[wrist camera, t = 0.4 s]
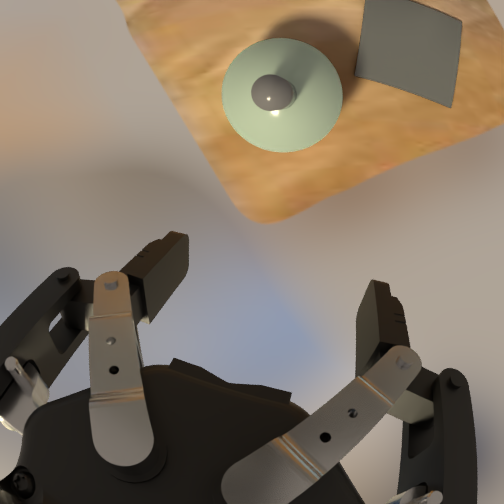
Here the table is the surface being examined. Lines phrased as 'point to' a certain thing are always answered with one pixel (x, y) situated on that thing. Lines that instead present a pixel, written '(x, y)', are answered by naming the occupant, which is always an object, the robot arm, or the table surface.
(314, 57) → the lid
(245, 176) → the table surface
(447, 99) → the mat
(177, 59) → the table surface
